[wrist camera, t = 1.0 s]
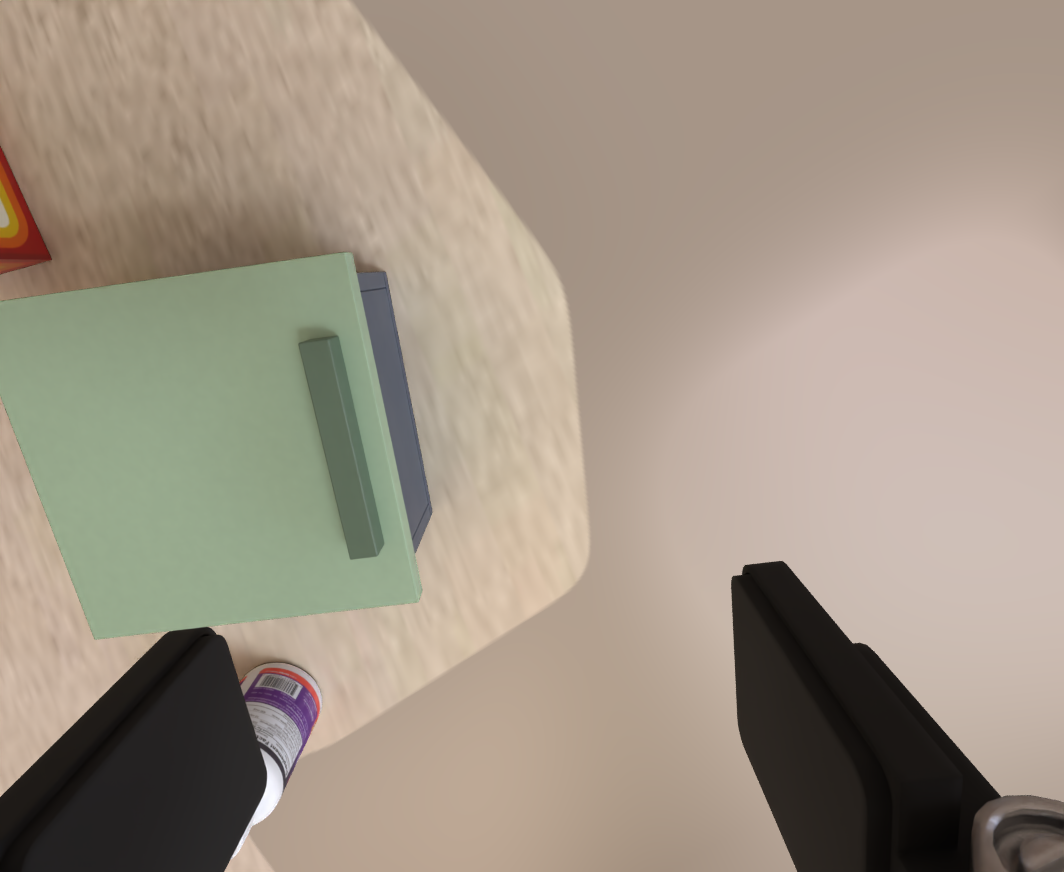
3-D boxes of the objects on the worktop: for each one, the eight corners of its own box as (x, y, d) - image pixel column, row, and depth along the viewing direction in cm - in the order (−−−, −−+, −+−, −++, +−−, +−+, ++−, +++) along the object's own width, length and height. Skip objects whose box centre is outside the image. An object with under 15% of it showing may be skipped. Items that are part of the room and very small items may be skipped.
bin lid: (-13, 304, 24) (-67, 308, 22) (352, 252, 23) (334, 250, 21) (109, 627, 28) (74, 657, 26) (422, 591, 27) (413, 618, 25)
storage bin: (133, 307, 31) (10, 319, 24) (386, 271, 31) (339, 273, 23) (205, 540, 35) (118, 612, 28) (432, 512, 34) (404, 579, 27)
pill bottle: (269, 741, 39) (186, 892, 30) (223, 679, 38) (120, 815, 28) (340, 711, 38) (277, 856, 29) (295, 646, 37) (214, 776, 28)
